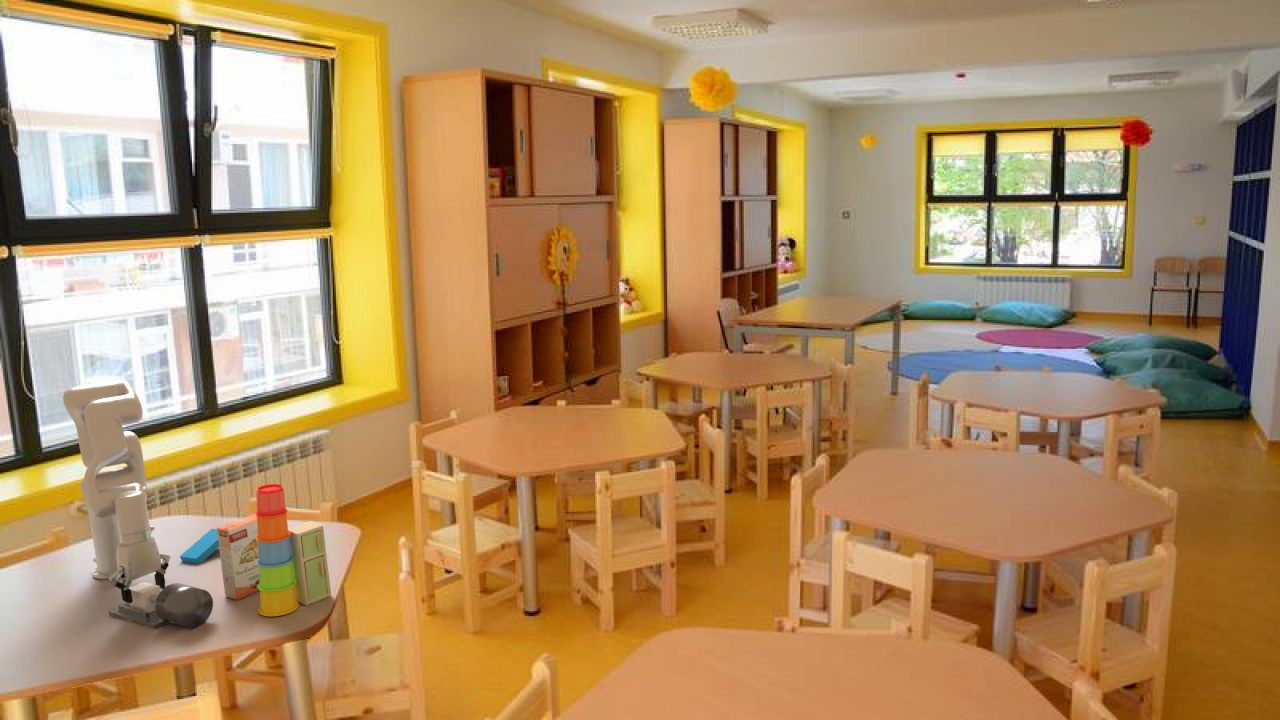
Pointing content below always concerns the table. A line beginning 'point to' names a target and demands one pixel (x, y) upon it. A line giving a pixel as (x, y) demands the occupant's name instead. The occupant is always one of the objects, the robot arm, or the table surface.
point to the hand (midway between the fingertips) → (144, 595)
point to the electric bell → (171, 608)
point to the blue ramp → (201, 548)
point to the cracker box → (239, 557)
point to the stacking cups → (274, 553)
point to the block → (144, 596)
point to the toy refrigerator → (309, 562)
